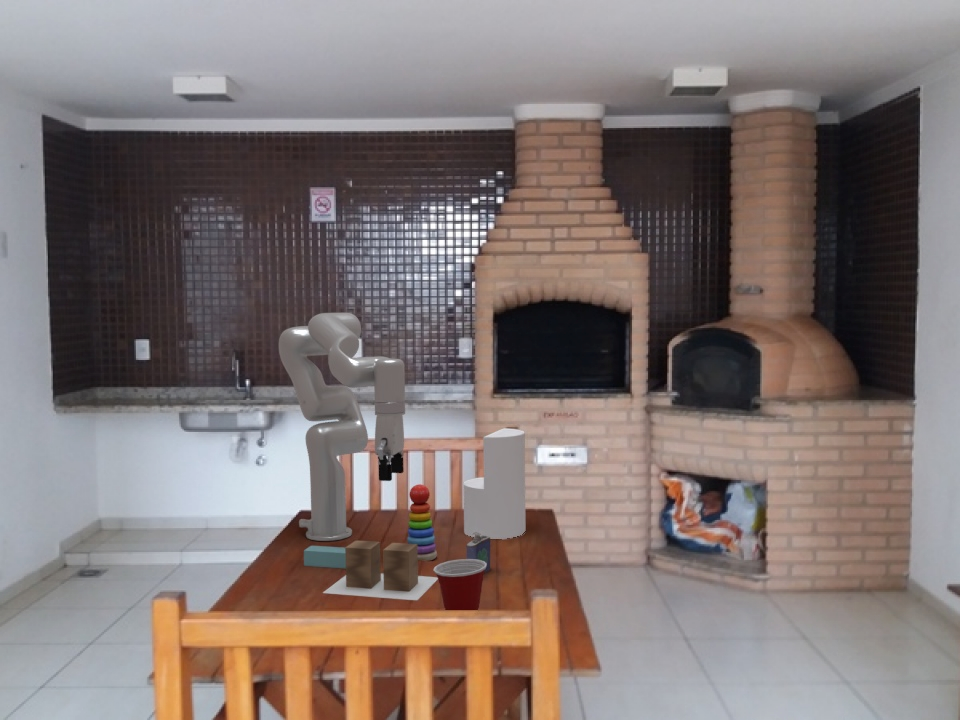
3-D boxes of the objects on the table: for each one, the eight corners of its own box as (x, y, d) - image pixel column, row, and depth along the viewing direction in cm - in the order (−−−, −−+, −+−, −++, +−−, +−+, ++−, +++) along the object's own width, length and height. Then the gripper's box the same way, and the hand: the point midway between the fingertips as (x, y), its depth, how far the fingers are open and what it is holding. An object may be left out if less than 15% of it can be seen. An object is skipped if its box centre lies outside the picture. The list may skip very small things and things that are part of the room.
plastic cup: (444, 611, 187) (443, 555, 186) (494, 615, 184) (493, 558, 183) (426, 629, 177) (425, 570, 176) (478, 635, 174) (478, 574, 173)
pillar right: (383, 589, 198) (383, 549, 198) (393, 581, 204) (392, 542, 203) (409, 591, 197) (408, 551, 196) (418, 583, 202) (417, 544, 202)
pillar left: (346, 586, 201) (345, 547, 200) (356, 578, 206) (355, 540, 206) (371, 588, 199) (370, 549, 198) (380, 580, 205) (380, 541, 204)
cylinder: (533, 526, 256) (532, 429, 254) (514, 541, 239) (513, 438, 237) (476, 521, 261) (475, 427, 259) (454, 536, 245) (453, 435, 243)
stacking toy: (442, 555, 227) (441, 483, 226) (427, 564, 220) (426, 489, 219) (415, 552, 231) (414, 480, 229) (400, 560, 224) (398, 486, 222)
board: (322, 597, 197) (322, 592, 197) (350, 575, 212) (350, 571, 212) (417, 604, 191) (417, 600, 191) (439, 581, 207) (439, 577, 206)
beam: (304, 570, 217) (303, 550, 217) (311, 565, 221) (311, 545, 221) (365, 575, 213) (365, 554, 213) (372, 569, 217) (372, 549, 217)
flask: (473, 584, 205) (473, 538, 204) (462, 582, 206) (462, 536, 205) (492, 573, 213) (492, 528, 212) (482, 571, 214) (481, 527, 213)
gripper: (386, 404, 230) (387, 469, 232) (364, 412, 213) (365, 483, 215) (414, 404, 229) (415, 470, 230) (394, 413, 212) (395, 484, 213)
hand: (391, 476), depth 222 cm, fingers open, 9 cm apart
